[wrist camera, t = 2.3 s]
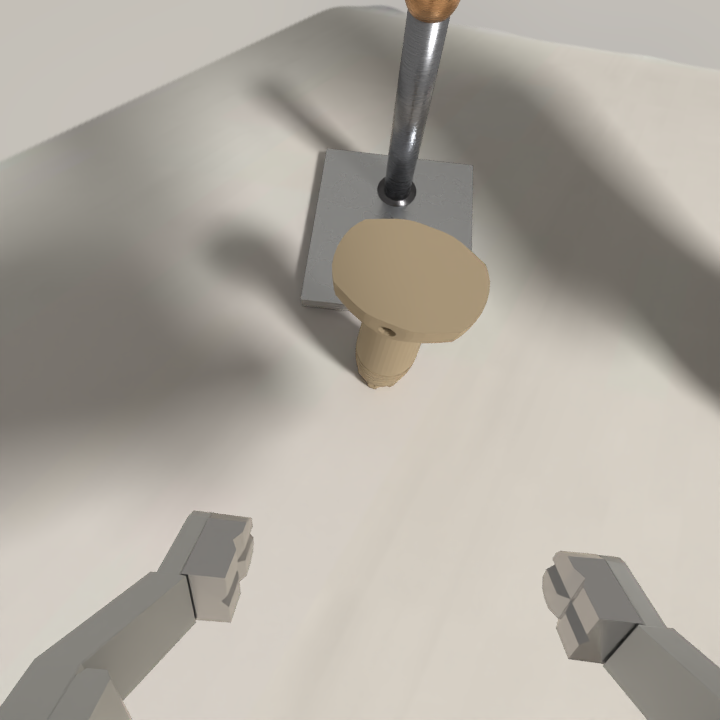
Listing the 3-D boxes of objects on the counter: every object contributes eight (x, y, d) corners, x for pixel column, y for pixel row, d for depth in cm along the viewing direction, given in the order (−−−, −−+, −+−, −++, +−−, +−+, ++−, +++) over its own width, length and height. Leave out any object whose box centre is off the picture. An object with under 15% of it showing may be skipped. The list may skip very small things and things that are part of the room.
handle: (353, 331, 30) (360, 201, 15) (425, 360, 29) (503, 254, 15) (330, 382, 28) (313, 293, 14) (405, 414, 28) (468, 355, 13)
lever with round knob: (415, 178, 33) (475, -75, 18) (412, 207, 32) (474, -36, 17) (381, 174, 33) (411, -83, 18) (377, 202, 32) (406, -44, 17)
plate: (468, 175, 35) (473, 164, 34) (465, 324, 30) (470, 318, 29) (327, 158, 35) (326, 147, 34) (302, 305, 30) (300, 298, 29)
